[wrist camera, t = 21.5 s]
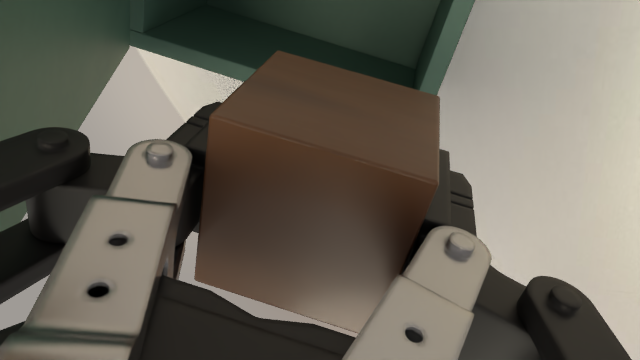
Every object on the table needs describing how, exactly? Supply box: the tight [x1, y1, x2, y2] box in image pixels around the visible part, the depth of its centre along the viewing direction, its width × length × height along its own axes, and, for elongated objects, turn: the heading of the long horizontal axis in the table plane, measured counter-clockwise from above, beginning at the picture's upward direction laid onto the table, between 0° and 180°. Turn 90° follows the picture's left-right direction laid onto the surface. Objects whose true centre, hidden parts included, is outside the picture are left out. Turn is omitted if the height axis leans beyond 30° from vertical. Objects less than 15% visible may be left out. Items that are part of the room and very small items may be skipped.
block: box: [194, 51, 440, 333], centre depth 12 cm, size 4×4×4 cm
